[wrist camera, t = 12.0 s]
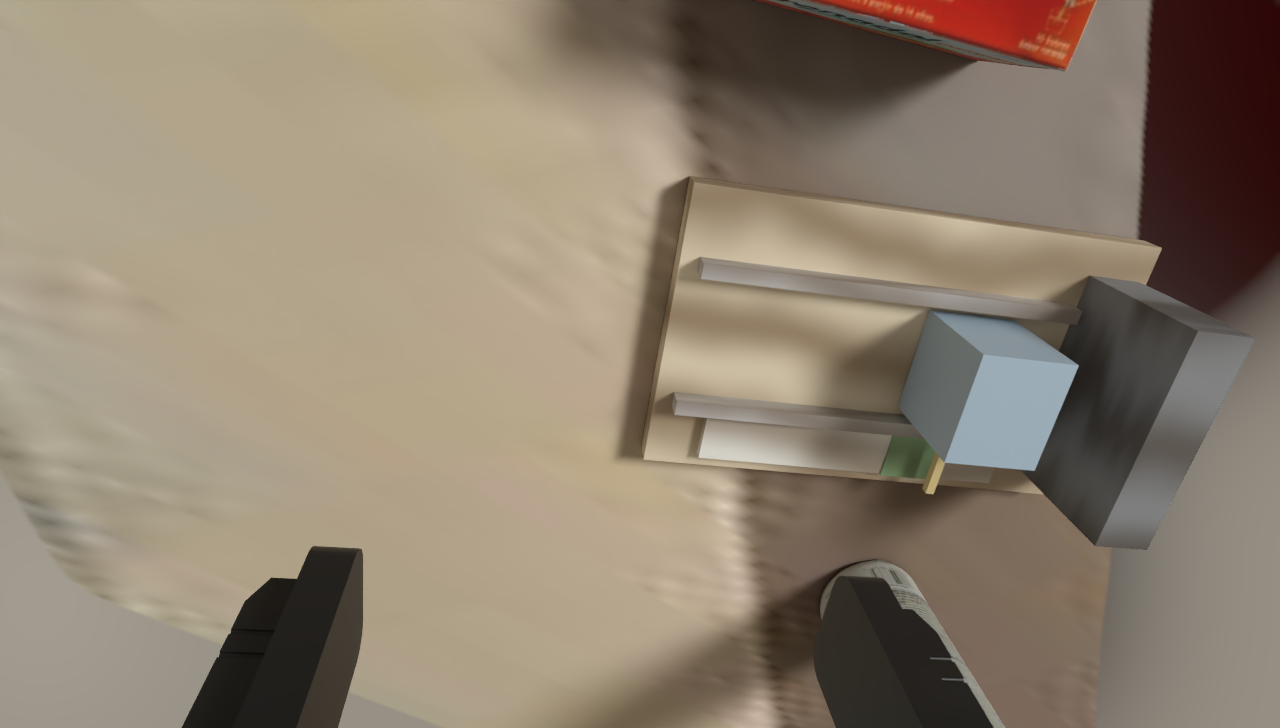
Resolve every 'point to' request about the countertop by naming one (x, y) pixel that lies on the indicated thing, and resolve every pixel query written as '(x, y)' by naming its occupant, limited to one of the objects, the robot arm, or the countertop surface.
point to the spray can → (914, 600)
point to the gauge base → (889, 336)
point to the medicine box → (967, 25)
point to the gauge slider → (984, 392)
